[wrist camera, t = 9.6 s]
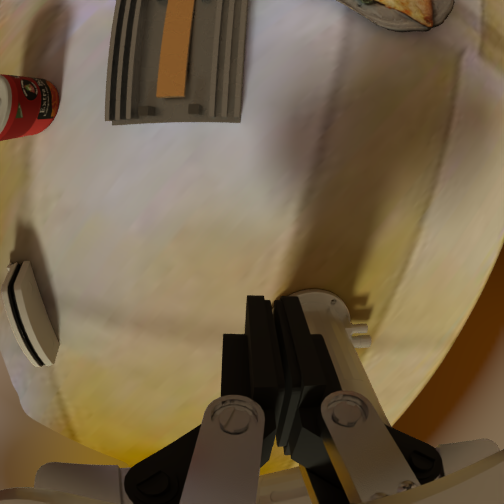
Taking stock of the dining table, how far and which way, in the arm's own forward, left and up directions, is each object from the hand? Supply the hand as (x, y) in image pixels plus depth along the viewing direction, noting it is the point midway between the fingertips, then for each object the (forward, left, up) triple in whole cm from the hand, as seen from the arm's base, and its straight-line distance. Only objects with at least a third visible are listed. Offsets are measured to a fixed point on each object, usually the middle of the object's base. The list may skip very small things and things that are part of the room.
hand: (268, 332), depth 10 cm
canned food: (+28, -11, -27) cm, 41 cm away
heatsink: (+8, -16, -27) cm, 32 cm away
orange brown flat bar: (+8, -16, -23) cm, 29 cm away
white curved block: (+33, +20, -28) cm, 47 cm away
